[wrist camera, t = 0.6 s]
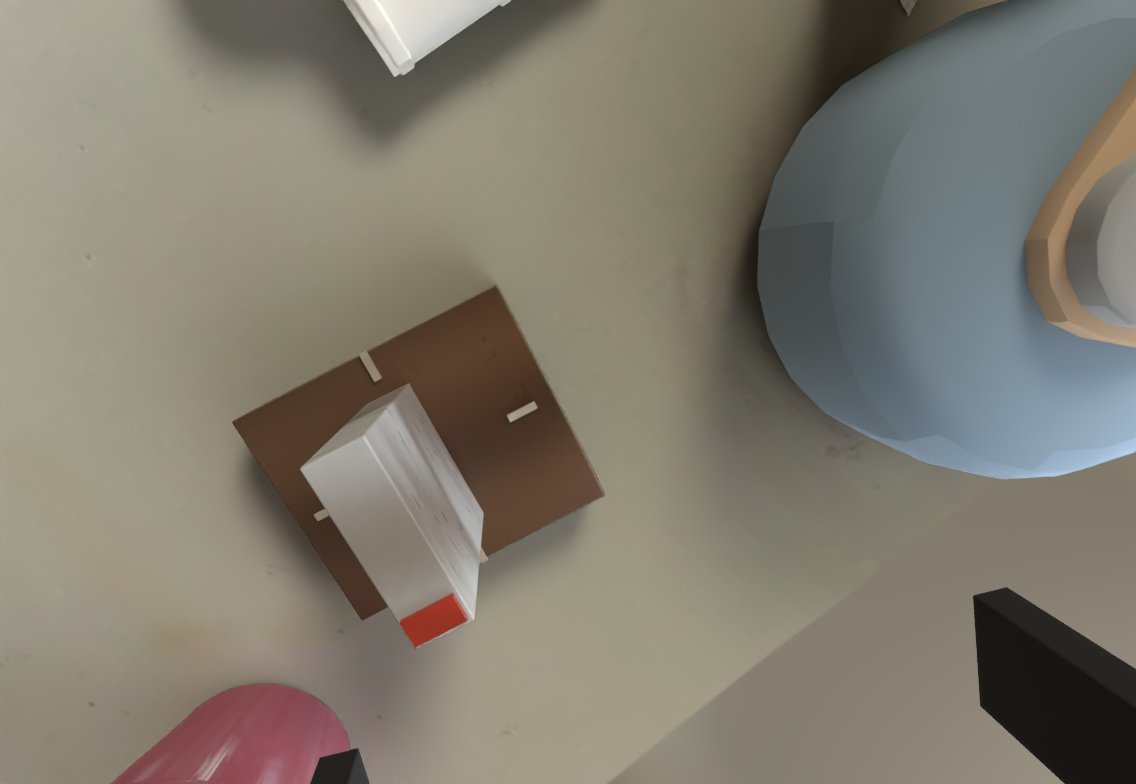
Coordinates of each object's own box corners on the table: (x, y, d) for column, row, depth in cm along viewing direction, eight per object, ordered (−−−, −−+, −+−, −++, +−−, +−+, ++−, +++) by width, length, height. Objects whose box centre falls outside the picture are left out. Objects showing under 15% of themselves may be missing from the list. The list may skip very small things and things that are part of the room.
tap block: (256, 405, 30) (227, 421, 27) (496, 282, 30) (495, 283, 27) (375, 591, 32) (361, 625, 29) (597, 476, 32) (607, 498, 29)
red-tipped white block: (364, 405, 27) (295, 471, 18) (408, 382, 27) (361, 437, 18) (442, 535, 29) (413, 655, 20) (484, 513, 29) (474, 623, 20)
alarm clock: (1144, 340, 34) (1486, 377, 22) (813, 492, 34) (979, 612, 22) (1064, -22, 30) (1431, -213, 18) (686, 149, 30) (806, 69, 18)
